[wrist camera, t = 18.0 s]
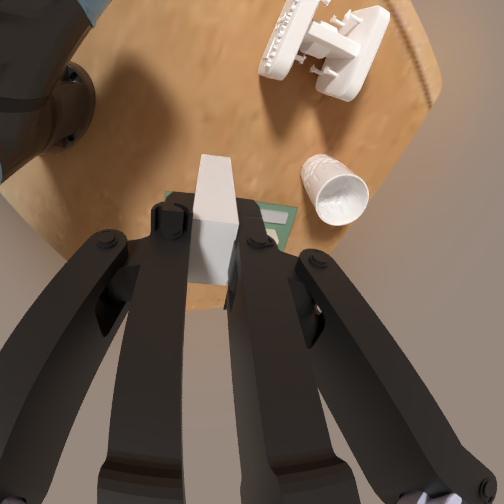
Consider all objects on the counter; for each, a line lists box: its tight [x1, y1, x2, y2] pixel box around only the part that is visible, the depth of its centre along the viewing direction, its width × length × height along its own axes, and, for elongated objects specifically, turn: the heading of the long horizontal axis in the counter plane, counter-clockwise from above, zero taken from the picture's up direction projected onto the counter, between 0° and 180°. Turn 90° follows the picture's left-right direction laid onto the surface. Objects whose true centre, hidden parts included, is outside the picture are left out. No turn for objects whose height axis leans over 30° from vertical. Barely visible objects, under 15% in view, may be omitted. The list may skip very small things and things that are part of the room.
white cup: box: [300, 154, 369, 226], centre depth 39 cm, size 8×8×10 cm
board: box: [165, 191, 297, 252], centre depth 48 cm, size 22×16×3 cm
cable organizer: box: [258, 0, 390, 102], centre depth 25 cm, size 15×11×12 cm
